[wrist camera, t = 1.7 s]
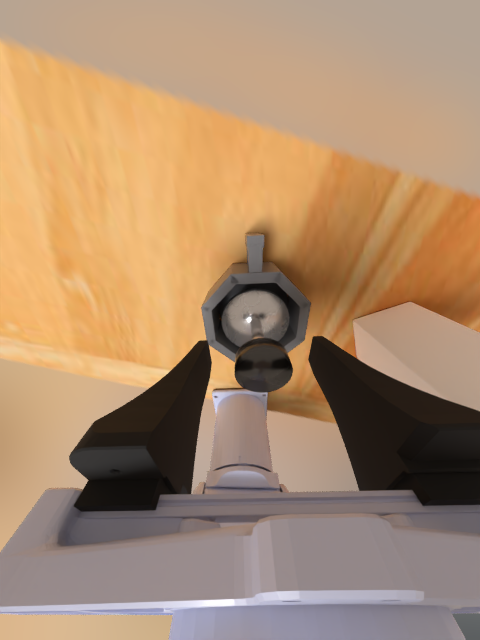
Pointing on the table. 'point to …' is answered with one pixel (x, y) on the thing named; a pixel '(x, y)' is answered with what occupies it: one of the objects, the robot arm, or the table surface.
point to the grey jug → (250, 278)
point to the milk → (422, 351)
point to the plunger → (258, 339)
